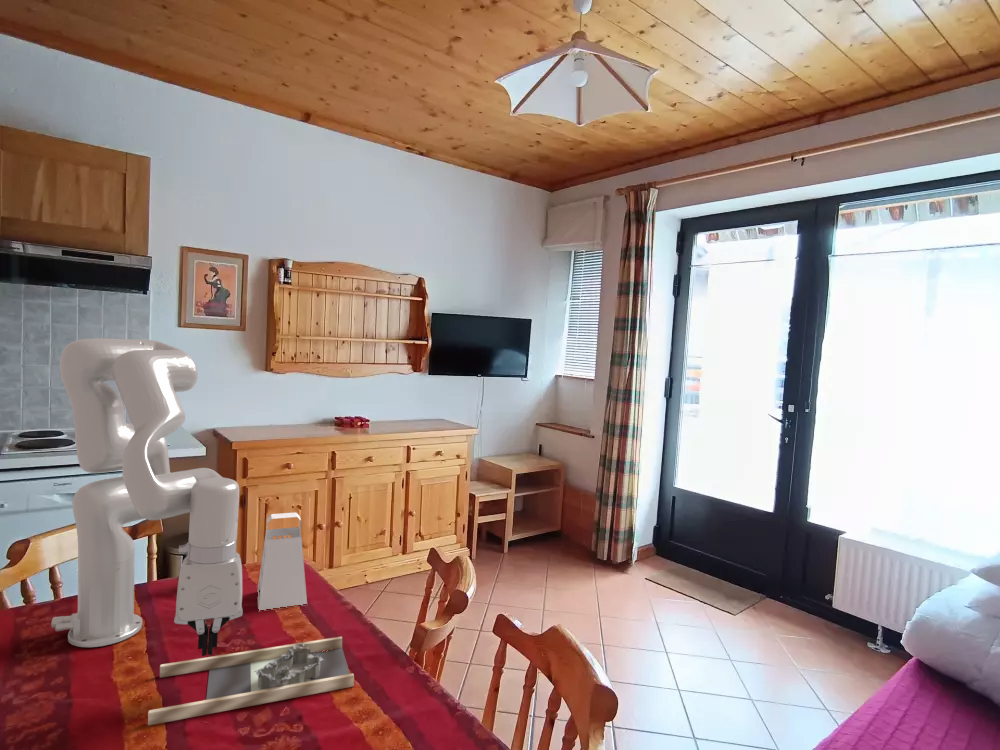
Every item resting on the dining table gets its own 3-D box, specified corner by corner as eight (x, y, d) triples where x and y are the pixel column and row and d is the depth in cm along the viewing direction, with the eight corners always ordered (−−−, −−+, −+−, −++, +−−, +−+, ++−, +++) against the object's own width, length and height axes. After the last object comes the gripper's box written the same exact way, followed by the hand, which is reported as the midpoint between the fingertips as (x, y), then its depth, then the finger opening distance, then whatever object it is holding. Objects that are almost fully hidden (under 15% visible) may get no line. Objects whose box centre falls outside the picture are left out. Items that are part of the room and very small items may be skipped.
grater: (257, 592, 140) (259, 510, 139) (302, 586, 145) (305, 507, 144) (258, 611, 131) (260, 524, 130) (307, 604, 135) (309, 520, 134)
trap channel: (148, 725, 92) (148, 713, 92) (160, 675, 105) (160, 664, 105) (353, 686, 105) (354, 675, 104) (341, 646, 118) (341, 636, 118)
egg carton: (303, 660, 112) (304, 639, 112) (327, 675, 108) (328, 653, 107) (251, 684, 104) (251, 662, 103) (274, 701, 99) (275, 678, 99)
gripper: (160, 562, 94) (155, 670, 96) (259, 555, 100) (253, 656, 102) (166, 545, 101) (161, 646, 102) (258, 539, 107) (253, 634, 108)
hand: (207, 651), depth 102 cm, fingers closed
